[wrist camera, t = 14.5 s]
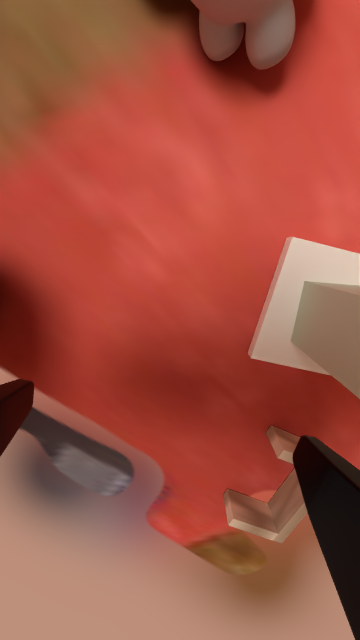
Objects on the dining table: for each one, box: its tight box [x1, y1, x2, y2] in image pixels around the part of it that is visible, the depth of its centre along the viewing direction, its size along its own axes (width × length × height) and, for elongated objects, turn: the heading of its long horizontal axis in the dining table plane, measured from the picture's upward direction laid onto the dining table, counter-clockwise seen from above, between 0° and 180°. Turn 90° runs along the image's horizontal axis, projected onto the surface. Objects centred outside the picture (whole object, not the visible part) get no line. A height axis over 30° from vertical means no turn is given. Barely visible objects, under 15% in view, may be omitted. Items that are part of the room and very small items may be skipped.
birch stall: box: [223, 425, 308, 543], centre depth 24 cm, size 6×10×3 cm, turn 155°
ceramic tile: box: [248, 237, 360, 375], centre depth 20 cm, size 10×10×1 cm
